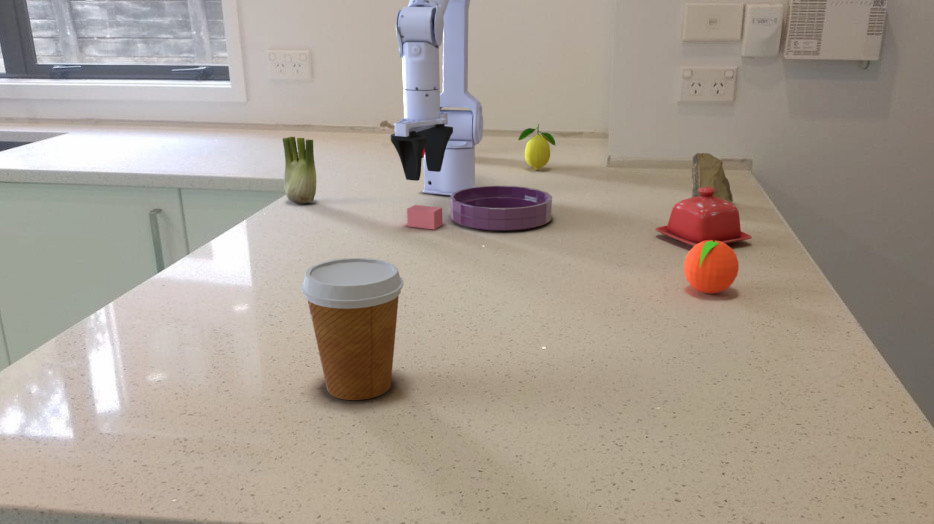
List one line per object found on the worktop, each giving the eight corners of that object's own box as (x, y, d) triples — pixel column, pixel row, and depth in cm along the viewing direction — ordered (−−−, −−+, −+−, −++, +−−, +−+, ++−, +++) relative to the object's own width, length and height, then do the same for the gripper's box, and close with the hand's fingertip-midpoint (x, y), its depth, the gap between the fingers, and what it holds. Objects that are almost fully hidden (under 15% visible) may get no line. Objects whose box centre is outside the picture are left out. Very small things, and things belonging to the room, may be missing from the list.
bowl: (433, 226, 139) (433, 202, 138) (475, 203, 154) (475, 182, 153) (530, 237, 133) (531, 213, 132) (564, 213, 148) (565, 191, 147)
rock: (723, 185, 159) (675, 180, 157) (745, 154, 152) (696, 148, 150) (737, 230, 154) (688, 226, 151) (761, 200, 147) (710, 195, 144)
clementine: (722, 307, 105) (729, 252, 102) (670, 297, 108) (675, 243, 105) (742, 289, 111) (748, 237, 108) (692, 280, 114) (697, 229, 112)
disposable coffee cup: (316, 367, 87) (306, 257, 83) (408, 365, 88) (404, 255, 83) (303, 410, 78) (292, 288, 74) (406, 407, 79) (401, 286, 75)
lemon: (517, 171, 181) (518, 124, 178) (526, 166, 186) (527, 121, 183) (546, 174, 179) (548, 126, 175) (555, 169, 184) (556, 123, 180)
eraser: (407, 226, 139) (406, 208, 138) (415, 222, 142) (415, 204, 141) (434, 229, 137) (434, 211, 136) (442, 225, 140) (442, 207, 139)
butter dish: (697, 254, 125) (702, 198, 122) (650, 235, 135) (654, 183, 132) (755, 245, 130) (762, 191, 127) (706, 227, 140) (711, 176, 137)
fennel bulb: (321, 203, 153) (316, 136, 149) (299, 207, 150) (293, 140, 146) (303, 198, 157) (298, 133, 153) (280, 202, 154) (274, 136, 149)
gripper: (422, 94, 124) (425, 186, 129) (464, 85, 136) (464, 169, 141) (381, 92, 126) (385, 182, 131) (425, 83, 138) (427, 165, 144)
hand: (423, 175), depth 136 cm, fingers open, 7 cm apart
